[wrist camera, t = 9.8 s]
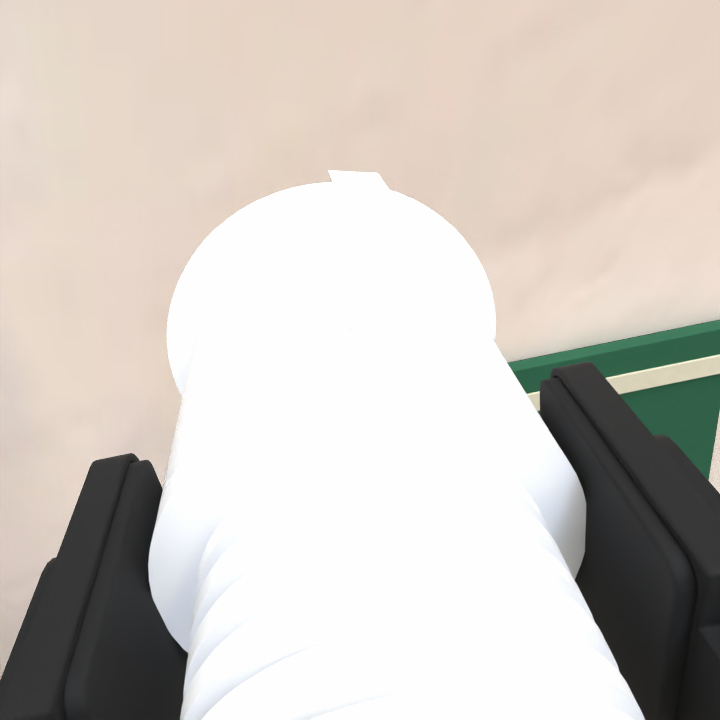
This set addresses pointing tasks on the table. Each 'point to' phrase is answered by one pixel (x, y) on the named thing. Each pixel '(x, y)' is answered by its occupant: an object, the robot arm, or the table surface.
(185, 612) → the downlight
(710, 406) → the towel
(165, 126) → the table surface
